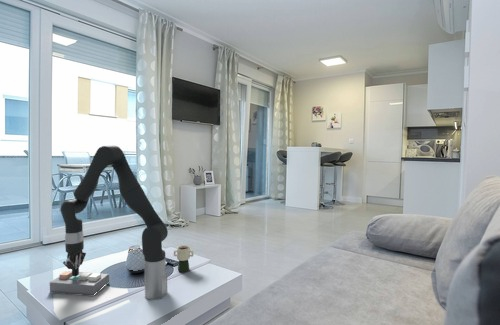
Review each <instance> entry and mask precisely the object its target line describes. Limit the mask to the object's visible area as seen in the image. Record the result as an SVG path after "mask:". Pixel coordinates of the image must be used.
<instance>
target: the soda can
mask: <svg viewBox="0 0 500 325" xmlns="http://www.w3.org/2000/svg"><path fill="white" fill-rule="evenodd" d="M128 249H129V250H127V251H128V252H127V254H128V253H129V251H130V250H133V249H141V250H142V248H141V246H140V245H132V246H129V247H128Z"/></svg>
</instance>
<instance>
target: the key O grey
mask: <svg viewBox="0 0 500 325" xmlns="http://www.w3.org/2000/svg"><path fill="white" fill-rule="evenodd" d="M91 273H92V272H87V273H83V274H81V275H80V276H79V280H82V281H87V280H88V277H89V276H90V275H91Z"/></svg>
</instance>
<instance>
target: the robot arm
mask: <svg viewBox="0 0 500 325" xmlns="http://www.w3.org/2000/svg"><path fill="white" fill-rule="evenodd" d="M89 164H90V165H89V167H88V169H87V171H86V173H85V175H84V177H83V178H82V180H81V181H80V183H79V184H78V186H77V187H76V188H75V190H74V192H73V196H74V198H73V199H70V200H65V201H64V202H63V203H62V204H61V206H60V213H61V216H62V218H63V222H64V224H65V226H64V228H65V235H64V245H65V252H66V253H67V255H66V259H65V260H64V261H63V262H62V264H63V265H64V266H65V267H66V268H67V269H68V270H71V272H72V276H78V275H79V272H80V269H79V268H80V266H82V264H83V262H84V260H85V258H86V255H87V253H86V252H84V249H85V248H84V247H85V245H84V242H85V241H84V229H83V228H84V227H83V219H81V218H79V217H78V218H77V217H76V215H77V214H80V213H81V212H83V211H85V209H86V208H87V205H88V204H89V203H88V202H89V200H90V197H91V196H92V195H93V193H94V192H95V191H96V189H97V187H98V184H99V178H100V176H101V175H102V173H103V171H104V170H105V169H106V168H107V167H108V166H109V167H110V166H111V167H112V168H113V170H114V172H115V173H116V175H117V178H118V179H117V180H118V188H119V192H120V195H121V197H122V198H123V200H124V202H125V204H126V206H127V207H128V208H130V209H131V210H132V211H133V212H134V213H135V214H137V215H138V216H139V217H140V218H141V219H142V220H143V222H144V224H145V226H146V227H145V228H144V229H143V231H142V234H141V247H142V248H141V252H142V255H143V256H144V297H145V299H148V300H159V299H163V298H164V297H165V295H167V293H168V272H167V270H166V269H167V268H166V252H165V250H163V247H162V246H163V245H162V244H163V241H165V239H167V238H168V234H169V233H168V231H169V230H168V228H167V226H166V224H165V223H164V221H163V220H162V219H161V217H160V216H159V215H158V213H157V212H156V211H155V209H154V207H153V205H152V203H151V202H150V200H149V198H148V196H147V195H146V193H145V191H144V189H143V187H142V185H140V183H139V182H138V179H137V177H136V175H135V174H134V171H132V169H131V166H130V165H129V163H128V160H127V158H126V155H125V153H124V152H123V149H121V148H120V147H119V146H117V145H102V146H100V147H99V148H97V150H96V152H95V153H94V156H93V158H92V160H91V163H89Z"/></svg>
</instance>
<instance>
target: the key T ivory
mask: <svg viewBox="0 0 500 325" xmlns="http://www.w3.org/2000/svg"><path fill="white" fill-rule="evenodd" d="M92 273H93V274H92V275H90V276H89V277H88V281H95V282H96V281H97V280H98V279H100V278H101V274H98V272H92Z"/></svg>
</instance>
